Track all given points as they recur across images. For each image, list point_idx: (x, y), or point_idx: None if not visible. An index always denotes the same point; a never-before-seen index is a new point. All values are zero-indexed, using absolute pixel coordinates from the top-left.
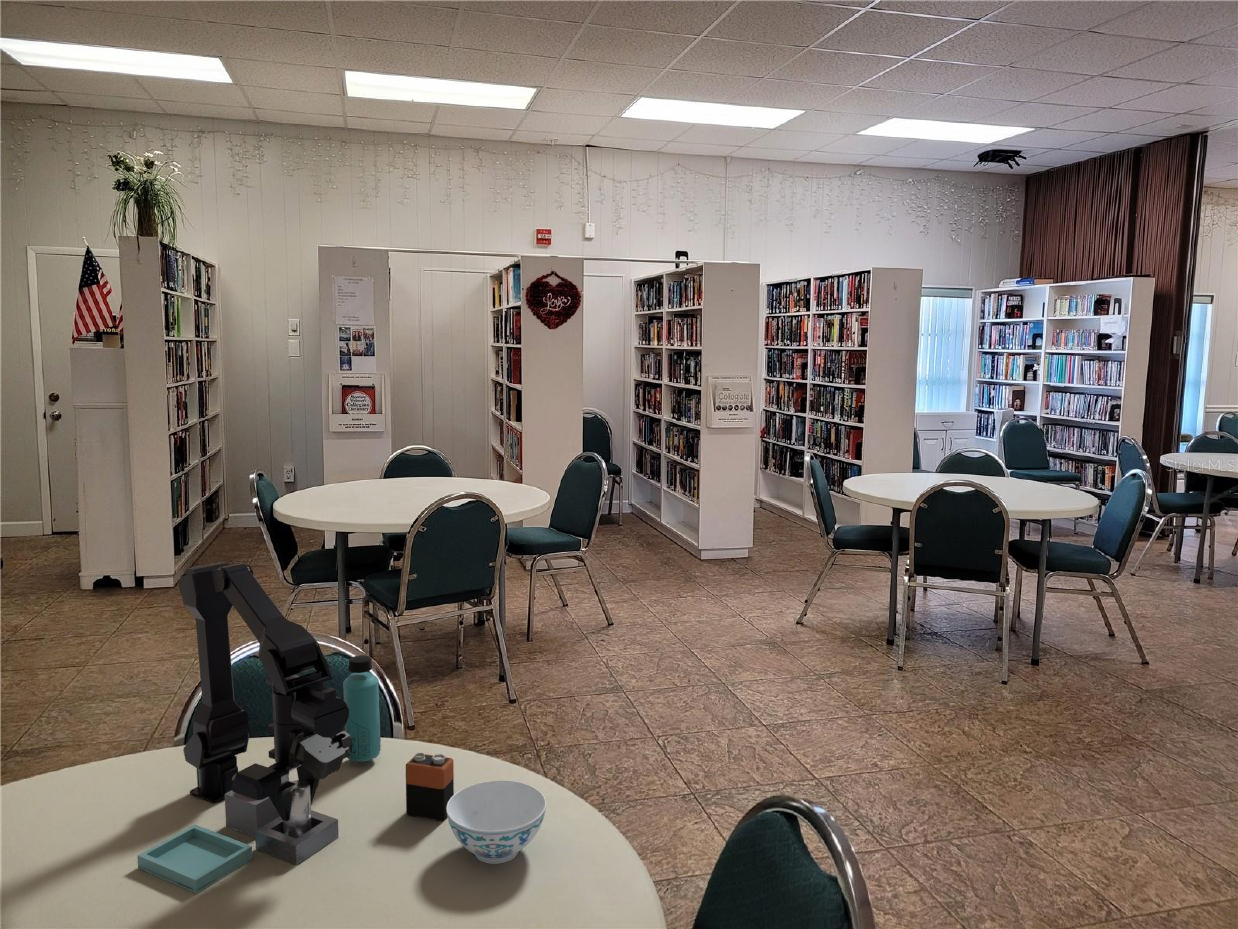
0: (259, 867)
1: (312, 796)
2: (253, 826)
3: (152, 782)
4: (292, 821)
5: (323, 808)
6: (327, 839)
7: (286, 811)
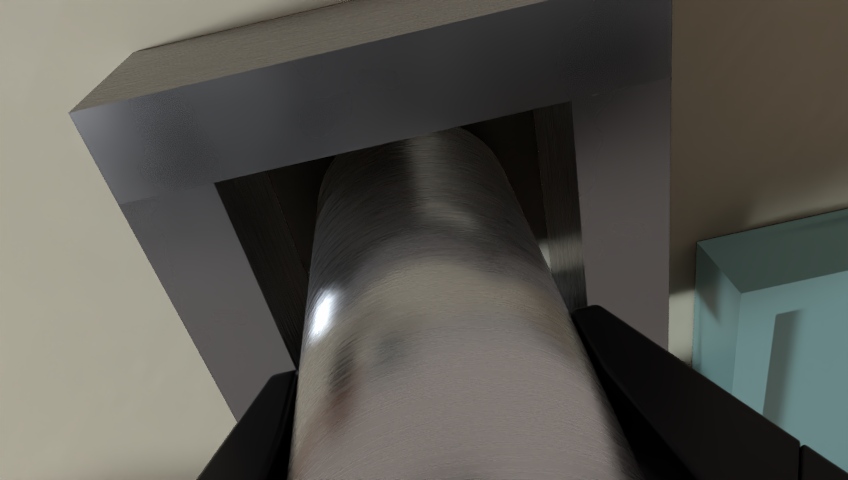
0: (745, 131)
1: (239, 466)
2: None
3: None
4: (550, 277)
5: (84, 424)
6: (250, 34)
7: (684, 373)
